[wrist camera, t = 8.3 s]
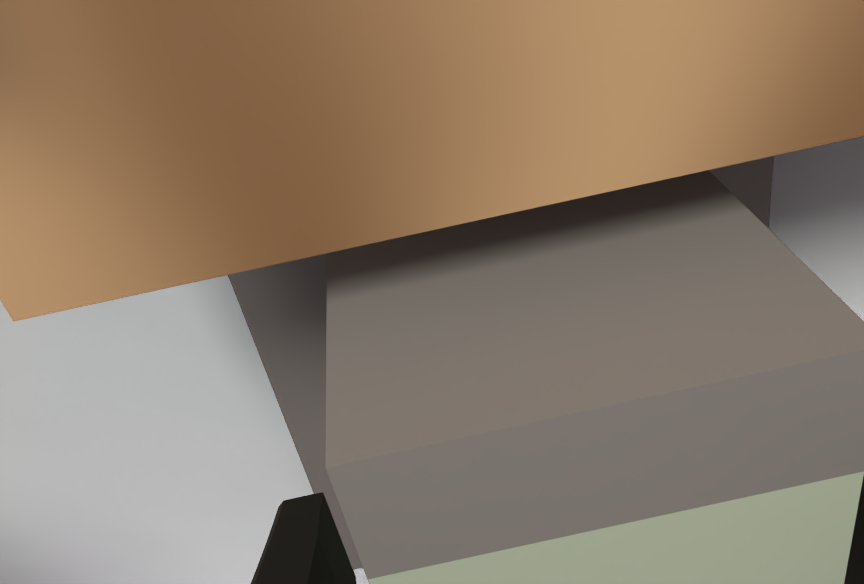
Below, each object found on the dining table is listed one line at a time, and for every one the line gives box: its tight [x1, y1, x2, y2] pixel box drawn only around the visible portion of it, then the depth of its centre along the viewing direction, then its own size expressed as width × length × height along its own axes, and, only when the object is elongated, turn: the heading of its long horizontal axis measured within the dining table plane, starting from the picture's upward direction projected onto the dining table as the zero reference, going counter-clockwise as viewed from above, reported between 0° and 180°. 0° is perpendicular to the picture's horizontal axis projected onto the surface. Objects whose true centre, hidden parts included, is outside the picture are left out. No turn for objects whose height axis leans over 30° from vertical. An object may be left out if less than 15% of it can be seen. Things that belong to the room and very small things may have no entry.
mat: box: [228, 156, 773, 569], centre depth 14 cm, size 9×9×1 cm
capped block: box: [326, 170, 864, 584], centre depth 11 cm, size 5×8×6 cm, turn 11°
